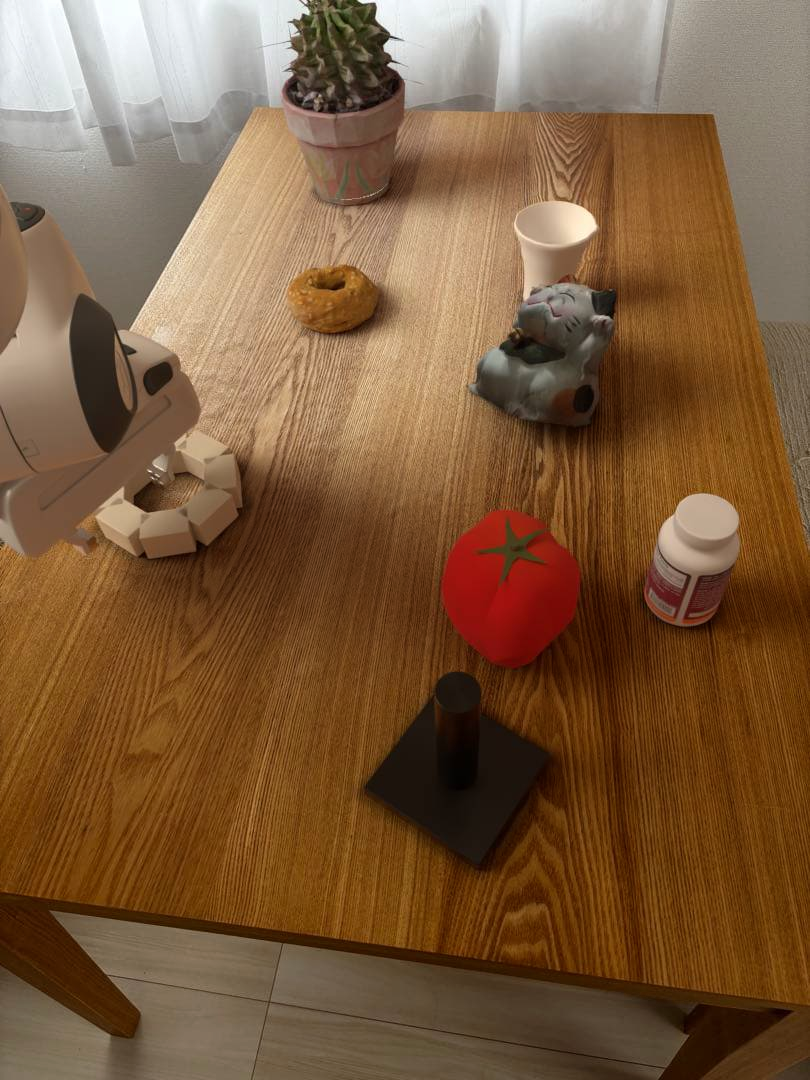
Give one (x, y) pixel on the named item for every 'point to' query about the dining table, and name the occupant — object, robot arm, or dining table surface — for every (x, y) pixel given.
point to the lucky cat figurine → (551, 355)
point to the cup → (552, 241)
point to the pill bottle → (693, 560)
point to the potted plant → (344, 99)
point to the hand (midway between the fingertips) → (127, 514)
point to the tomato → (510, 587)
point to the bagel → (332, 298)
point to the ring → (179, 525)
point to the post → (457, 772)
